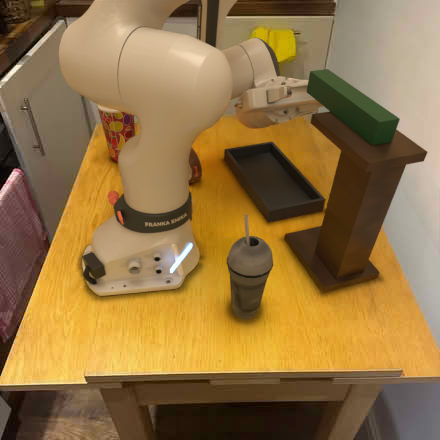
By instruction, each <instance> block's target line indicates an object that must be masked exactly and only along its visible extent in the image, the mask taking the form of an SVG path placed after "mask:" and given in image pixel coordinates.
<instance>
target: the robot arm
mask: <svg viewBox="0 0 440 440" xmlns="http://www.w3.org/2000/svg"><path fill="white" fill-rule="evenodd" d="M189 1H191V0H93V2H92V3H91V4H90V6H89V8H88V9H87V10H86V11H85V12H84V13H83V14H82V15H81V16H80V17H79V18H78V19H76V20H74V21H73V22H72V23H71V24H69V25H68V26H67V27H66V29H65V30H64V31H63V33H62V36H61V39H60V42H59V47H58V60H59V68H60V72H61V74H62V77H63V79H64V81H65V82H66V84H67V86H69V87H70V88H71V89H72V90H73V91H74V92H76V93H77V94H78V95H81V96H82V97H84V98H85V99H88V100H89V101H91V102H92V103H94V104H96V105H97V104H98V105H101V106H104V107H108V108H111V109H115V110H118V111H121V112H125V113H128V114H132V115H134V117H135V118H136V119H137V122H138V124H139V133H138V134H135V136H134V137H132V138H130V139H129V140H128V141H127V142H126V143H125V144H124V145H123V147H122V149H121V151H120V153H119V156H118V162H117V165H118V170H119V177H120V182H121V187H122V194H121V196H120V194H119V192H118V191H116V190H110V191H108V193H107V199H108V202H109V204H110V205H111V206H113V211H114V212H113V213H114V214H112V215H111V216H109V218H107V219H106V220H105V221H104V222H102V223H101V224H100V225H99V226H97V227H96V228H95V230H94V231H93V233H92V237H91V244H89V245H87V246H86V248H85V249H84V252H83V255H81V258H82V259H81V260H82V261H81V265H82V272H83V275H82V276H83V278H84V280H85V282H86V285H87V286H88V288H89V289H90V290H91V291H92V292H93V293H94V294H95V295H97V296H99V297H106V296H115V295H117V296H118V295H127V294H137V293H138V294H139V293H146V292H156V291H166V290H167V291H168V290H176V289H179V288H181V286H183V283H184V281H185V279H186V277H187V276H188V275H189V274H190V273H191V272H192V271H193V270H194V269H196V266H197V265H198V263H199V261H200V255H201V253H200V249H199V247H198V244H197V242H196V238H195V235H194V229H193V224H192V221H193V214H194V206H193V197H192V192H191V191H190V187H189V184H190V183H189V176H188V174H189V155H190V151H191V148H193V145H194V143H195V141H196V140H197V139H198V137H199V136H200V135H201V134H202V133H203V132H205V131H207V130H209V129H211V128H212V127H213V126H214V125H216V124H217V123H218V122H220V120H221V119H222V117H223V116H224V115H225V113H226V111H227V110H228V108H229V105H230V102H231V101H232V100H235V99H237V98H238V100H237V102H236V103H234V108H235V115H236V119H237V120H238V121H239V123H240V124H241V125H243V126H244V127H246V128H248V129H251V130H253V129H254V130H261V129H266V128H269V127H271V126H277V125H280V124H284V123H288V122H289V121H292V120H294V119H296V118H298V117H302V116H304V115H310V114H314V113H317V112H318V110H319V109H320V108H323V107H324V106H323V105H322V104H320V103H319V102H318V101H317V100H315V99H314V98H313V97H312V96H310V95H309V94H308V93H307V86H308V81H309V78H304V79H303V78H299V79H297V78H292V77H286V76H281V69H280V64H279V60H278V57H277V55H276V52H275V50H274V49H273V48H272V47H271V45H270V44H268V42H266V41H265V40H263V39H262V38H260V37H257V36H256V37H255V36H254V37H252V38H250V39H247V40H245V41H241V42H240V43H237V44H235V45H233V46H230V47H228V48H225V49H223V39H224V29H225V22H226V19H227V16H228V14H229V12H230V11H231V10H232V9H233V6H234V5H235V4H236V3H237V2H238V1H239V0H197V19H196V37H194V36H192V35H188V34H184V33H178V32H174V31H168V30H164V29H163V27H164V25H165V23H166V21H167V20H168V18H169V17H170V16H171V14H172V13H174V11H175V10H176V9H177V8H179V7H180V6H182V5H185V4H186V3H187V2H189Z"/></svg>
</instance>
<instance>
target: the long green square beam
mask: <svg viewBox="0 0 440 440" xmlns="http://www.w3.org/2000/svg"><path fill="white" fill-rule="evenodd" d="M308 79H309V81H308V86H307V93H308V94H309V95H310V96H312V97H313V98H314V99H315V100H317V101H318V102H319V103H320V104H322V105H323V107H324V108H325V109H326V110H328V112H329V111H330V112H331V113H333V114H334V115H335V116H336V117H338V118H339V119H340V120H341V121H343V122H344V123H345V124H346V125H347V126H349V127H350V128H351V129H352V130H354V131H355V132H356V133H357V134H359V135H360V136H361V137H362V138H363V139H365V140H366V141H367V142H368V143H370V144H371V145H377V144H383V143H389V142H392V140H393V137H394V134H395V131H396V129H397V130H398V125H399V123H400V119H401V118H400V117H398V116H397V115H395V114H394V113H392V112H391V111H389V109H386V108H385V107H384V106H382V105H380V104H379V103H378V102H377V101H375V100H374V99H373V98H371V97H370V96H368V95H367V94H365V93H363V92H362V91H361V90H359V89H358V88H356V87H355V86H353V85H351V84H350V83H349V82H347V81H346V80H345V79H343V78H342V77H340V76H339V75H337V74H336V73H334V72H333V71H331V70H330V69H329V68H326V69H318V70H310V71H309V76H308Z"/></svg>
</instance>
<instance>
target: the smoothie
mask: <svg viewBox="0 0 440 440" xmlns="http://www.w3.org/2000/svg"><path fill="white" fill-rule="evenodd" d="M96 107H97V111H98V114H99V118H100V121H101V125H102V129H103V133H104V137H105V141H106V146H107V149H108V152H109V153H108V154H109V156H110V157H111V158H112V160H113V161H114V162H117V163H118V156H119V153H120V151H121V149H122V147H123V145H124V144H125V143H126V142H127V141H128V140H129V139H130V138H132V137H134V136H136V124H135V116H134V115H132V114H128V113H125V112H121V111H118V110H115V109H111V108H108V107H104V106H101V105H98V104H96Z"/></svg>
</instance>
